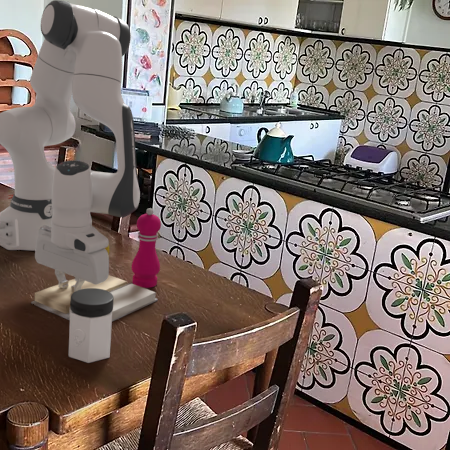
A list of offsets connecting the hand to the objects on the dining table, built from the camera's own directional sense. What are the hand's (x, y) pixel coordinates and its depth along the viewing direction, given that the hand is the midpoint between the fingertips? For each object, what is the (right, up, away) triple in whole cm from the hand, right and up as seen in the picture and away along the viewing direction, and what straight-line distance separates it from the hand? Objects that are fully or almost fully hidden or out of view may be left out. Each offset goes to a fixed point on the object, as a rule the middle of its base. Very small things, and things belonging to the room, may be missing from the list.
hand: (70, 290), depth 144 cm
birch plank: (+2, -1, +3) cm, 4 cm away
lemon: (+2, +4, +24) cm, 25 cm away
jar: (+9, -10, -21) cm, 25 cm away
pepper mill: (+15, 0, +15) cm, 22 cm away
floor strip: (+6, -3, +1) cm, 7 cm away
